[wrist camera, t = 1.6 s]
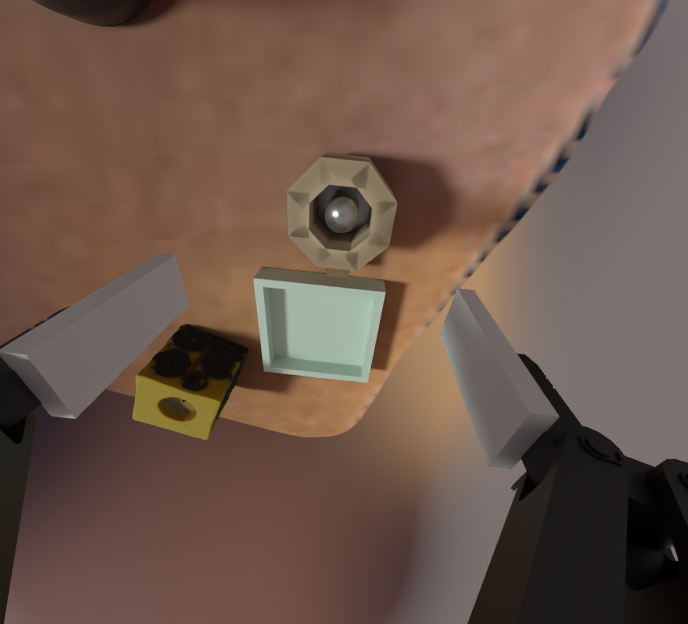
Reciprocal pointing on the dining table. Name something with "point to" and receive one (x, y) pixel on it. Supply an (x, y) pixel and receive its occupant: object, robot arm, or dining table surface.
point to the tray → (318, 323)
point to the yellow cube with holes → (188, 382)
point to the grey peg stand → (343, 208)
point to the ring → (315, 235)
